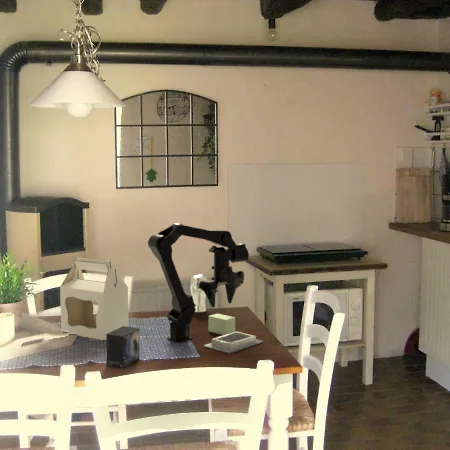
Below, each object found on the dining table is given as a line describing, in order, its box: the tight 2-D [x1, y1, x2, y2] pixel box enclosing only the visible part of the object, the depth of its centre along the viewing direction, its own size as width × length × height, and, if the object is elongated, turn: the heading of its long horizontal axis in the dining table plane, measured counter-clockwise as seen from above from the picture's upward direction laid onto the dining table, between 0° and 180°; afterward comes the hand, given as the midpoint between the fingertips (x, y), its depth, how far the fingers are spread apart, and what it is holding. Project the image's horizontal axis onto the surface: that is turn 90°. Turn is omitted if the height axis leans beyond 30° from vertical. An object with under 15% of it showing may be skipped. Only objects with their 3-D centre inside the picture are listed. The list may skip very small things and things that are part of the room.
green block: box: [208, 313, 236, 336], centre depth 233 cm, size 5×9×6 cm, turn 47°
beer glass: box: [190, 274, 208, 313], centre depth 266 cm, size 7×7×15 cm
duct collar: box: [202, 330, 264, 355], centre depth 217 cm, size 18×12×2 cm, turn 137°
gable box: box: [59, 256, 130, 341], centre depth 232 cm, size 22×13×28 cm, turn 59°
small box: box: [105, 326, 140, 369], centre depth 197 cm, size 11×6×10 cm, turn 158°
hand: (221, 305), depth 232 cm, fingers open, 9 cm apart
